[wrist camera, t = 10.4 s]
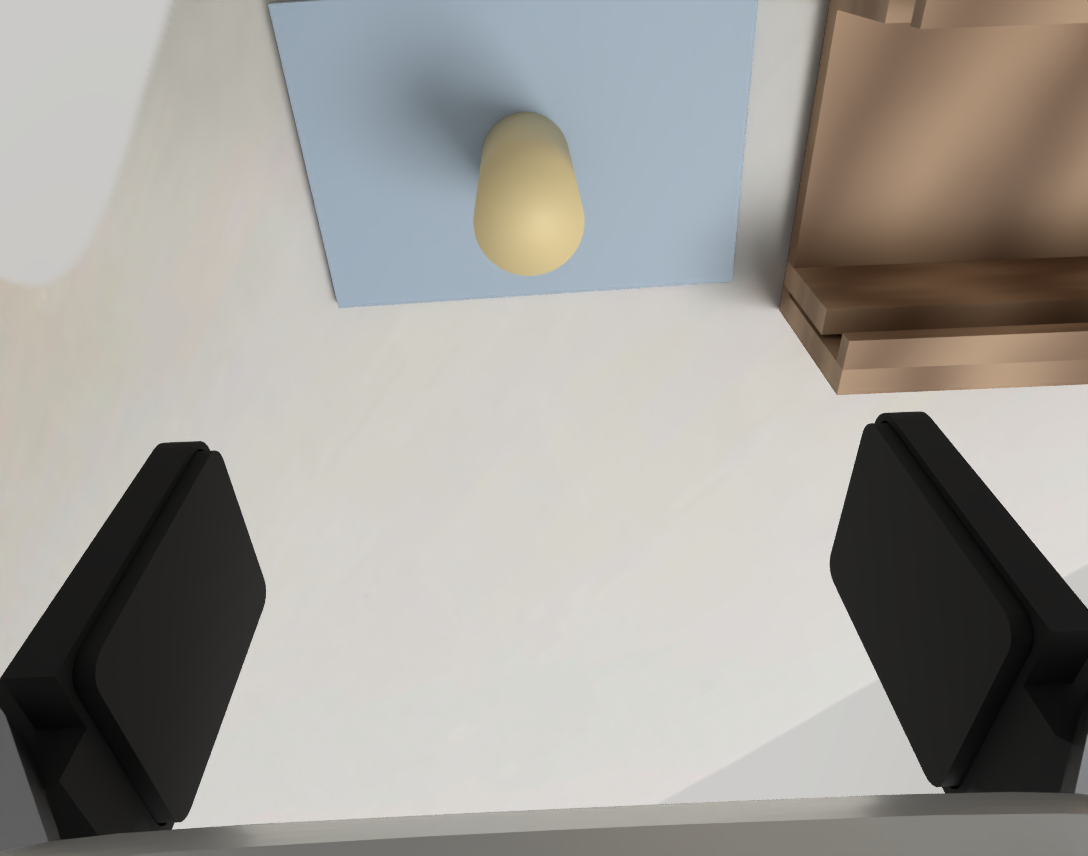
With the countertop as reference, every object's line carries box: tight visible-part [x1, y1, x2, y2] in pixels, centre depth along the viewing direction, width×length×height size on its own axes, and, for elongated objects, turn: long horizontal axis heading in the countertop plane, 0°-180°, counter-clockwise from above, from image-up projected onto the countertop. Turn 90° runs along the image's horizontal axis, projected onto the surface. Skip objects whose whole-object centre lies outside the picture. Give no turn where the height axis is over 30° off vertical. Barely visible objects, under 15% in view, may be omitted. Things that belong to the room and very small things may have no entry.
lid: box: [268, 0, 758, 308], centre depth 25 cm, size 16×11×8 cm
